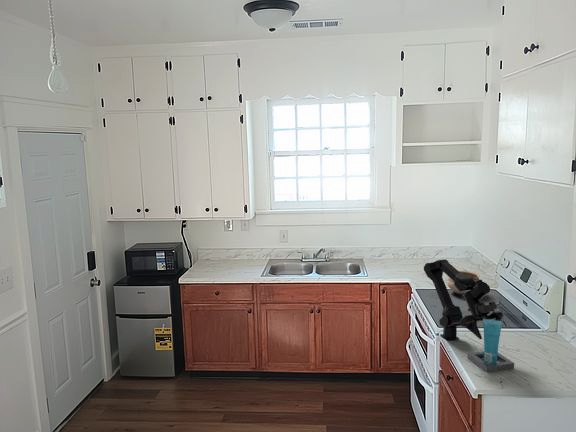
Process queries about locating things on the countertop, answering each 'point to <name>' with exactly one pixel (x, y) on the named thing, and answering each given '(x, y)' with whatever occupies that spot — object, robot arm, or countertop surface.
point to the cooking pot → (468, 273)
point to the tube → (491, 340)
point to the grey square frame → (503, 365)
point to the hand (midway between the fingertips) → (490, 337)
